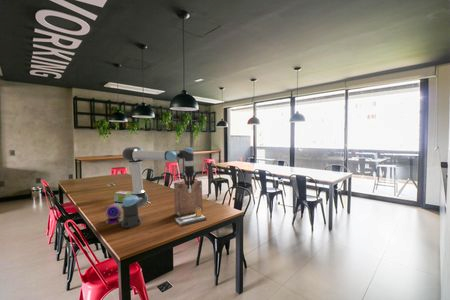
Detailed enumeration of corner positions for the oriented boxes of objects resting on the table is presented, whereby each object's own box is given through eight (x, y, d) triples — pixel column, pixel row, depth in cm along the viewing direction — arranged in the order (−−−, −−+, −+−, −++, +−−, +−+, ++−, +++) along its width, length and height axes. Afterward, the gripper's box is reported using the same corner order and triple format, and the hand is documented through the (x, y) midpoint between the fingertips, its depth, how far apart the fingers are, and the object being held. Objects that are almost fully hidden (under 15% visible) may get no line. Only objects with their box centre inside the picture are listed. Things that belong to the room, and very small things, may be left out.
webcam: (104, 224, 182) (103, 207, 181) (108, 219, 194) (107, 202, 193) (121, 222, 185) (120, 205, 185) (123, 217, 198) (123, 201, 197)
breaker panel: (175, 220, 187) (175, 218, 187) (199, 215, 199) (199, 213, 199) (180, 225, 178) (180, 222, 178) (205, 219, 190) (205, 216, 190)
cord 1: (174, 219, 190) (174, 217, 190) (197, 214, 203) (197, 212, 202) (174, 220, 189) (174, 218, 189) (198, 214, 201) (198, 213, 201)
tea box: (114, 206, 231) (113, 192, 230) (121, 203, 241) (120, 190, 240) (125, 207, 227) (125, 193, 226) (132, 204, 236) (131, 191, 235)
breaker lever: (195, 215, 193) (195, 207, 193) (199, 214, 195) (199, 207, 195) (197, 216, 190) (197, 209, 190) (201, 215, 192) (201, 208, 192)
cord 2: (180, 225, 177) (180, 223, 177) (205, 219, 189) (205, 217, 189) (181, 226, 175) (181, 224, 175) (206, 219, 188) (206, 218, 188)
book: (197, 208, 220) (196, 179, 219) (202, 210, 213) (201, 180, 212) (174, 214, 204) (173, 182, 202) (179, 216, 197) (178, 184, 195)
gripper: (183, 166, 179) (184, 194, 181) (197, 165, 186) (198, 192, 188) (180, 165, 186) (181, 192, 187) (194, 164, 193) (194, 190, 194)
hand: (189, 192), depth 187 cm, fingers closed
